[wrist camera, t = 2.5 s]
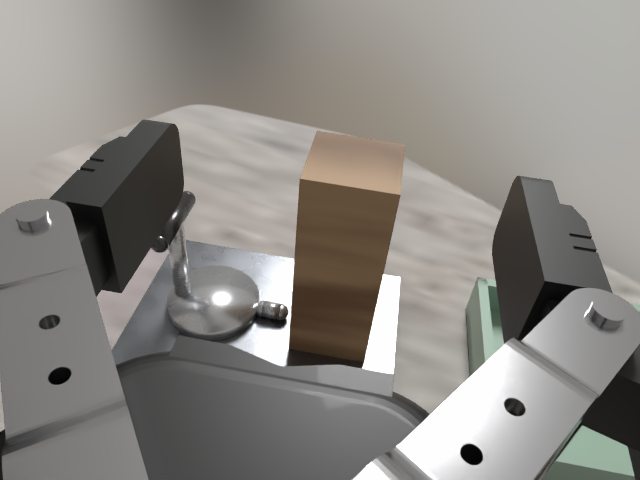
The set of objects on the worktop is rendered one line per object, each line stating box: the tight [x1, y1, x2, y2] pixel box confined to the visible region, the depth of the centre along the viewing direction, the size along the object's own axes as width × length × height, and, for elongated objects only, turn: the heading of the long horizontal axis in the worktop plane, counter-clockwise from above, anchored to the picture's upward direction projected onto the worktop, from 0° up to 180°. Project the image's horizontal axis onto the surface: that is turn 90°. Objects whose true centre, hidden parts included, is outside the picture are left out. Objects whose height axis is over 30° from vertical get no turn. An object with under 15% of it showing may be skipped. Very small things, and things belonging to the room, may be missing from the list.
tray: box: [466, 277, 640, 480], centre depth 31 cm, size 12×12×3 cm
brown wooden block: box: [289, 131, 405, 362], centre depth 29 cm, size 4×4×12 cm
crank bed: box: [112, 191, 401, 374], centre depth 32 cm, size 11×16×8 cm
